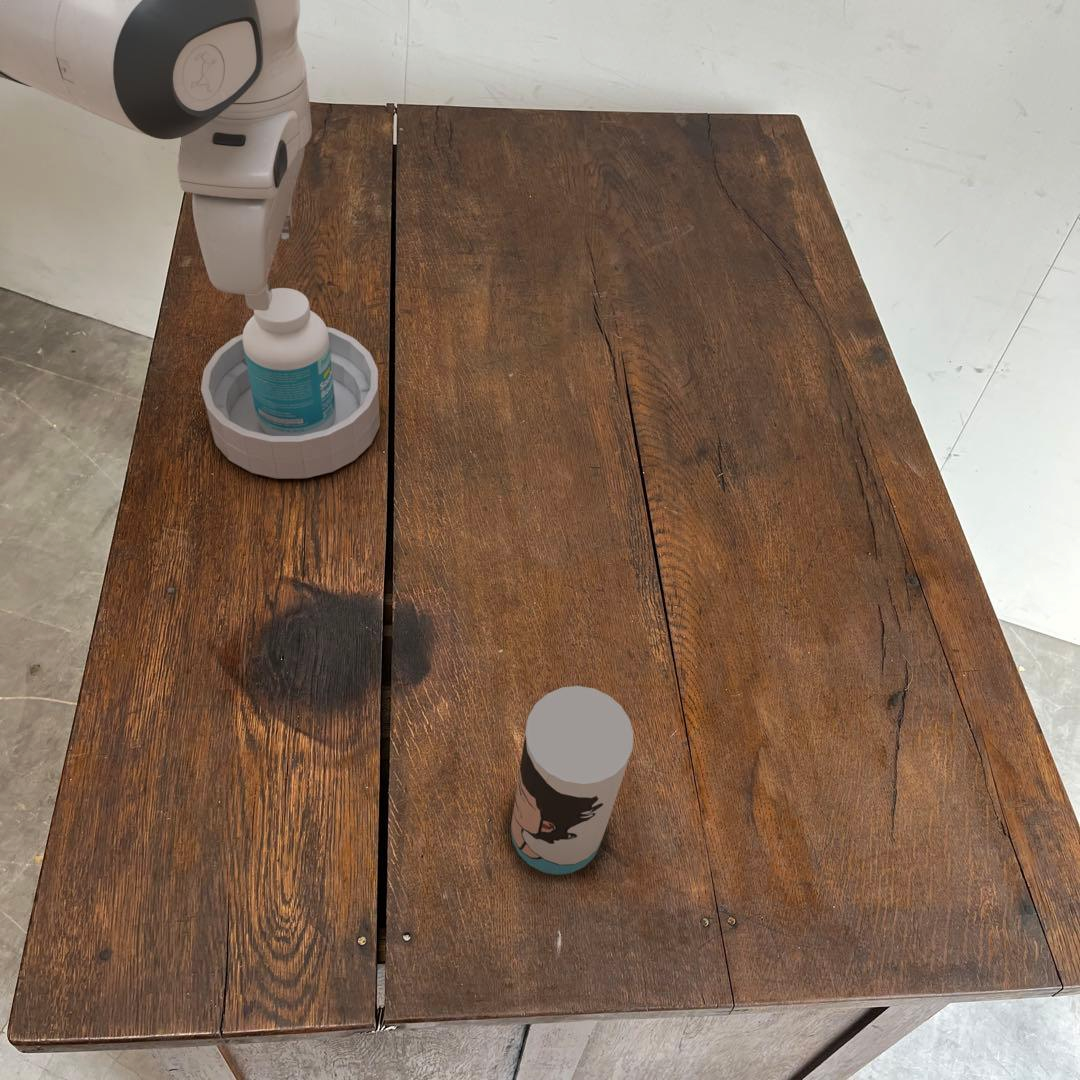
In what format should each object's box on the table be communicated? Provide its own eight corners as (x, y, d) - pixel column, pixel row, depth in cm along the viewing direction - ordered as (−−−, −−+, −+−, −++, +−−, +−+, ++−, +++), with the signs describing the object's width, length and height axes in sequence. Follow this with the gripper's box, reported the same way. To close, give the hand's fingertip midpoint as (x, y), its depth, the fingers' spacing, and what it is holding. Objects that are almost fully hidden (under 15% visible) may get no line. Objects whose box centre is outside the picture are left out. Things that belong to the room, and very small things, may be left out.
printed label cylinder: (565, 770, 78) (588, 668, 67) (620, 840, 75) (655, 746, 64) (492, 818, 76) (504, 720, 64) (547, 893, 72) (569, 804, 61)
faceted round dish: (202, 484, 93) (191, 442, 89) (220, 365, 103) (211, 321, 98) (379, 482, 95) (377, 441, 90) (380, 365, 104) (378, 323, 100)
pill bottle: (343, 438, 97) (333, 326, 86) (263, 452, 95) (243, 339, 84) (328, 384, 101) (316, 272, 91) (251, 397, 99) (230, 283, 89)
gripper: (233, 37, 81) (256, 192, 92) (169, 185, 68) (205, 345, 79) (314, 45, 81) (328, 199, 92) (266, 193, 68) (288, 352, 79)
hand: (271, 268), depth 85 cm, fingers open, 8 cm apart
